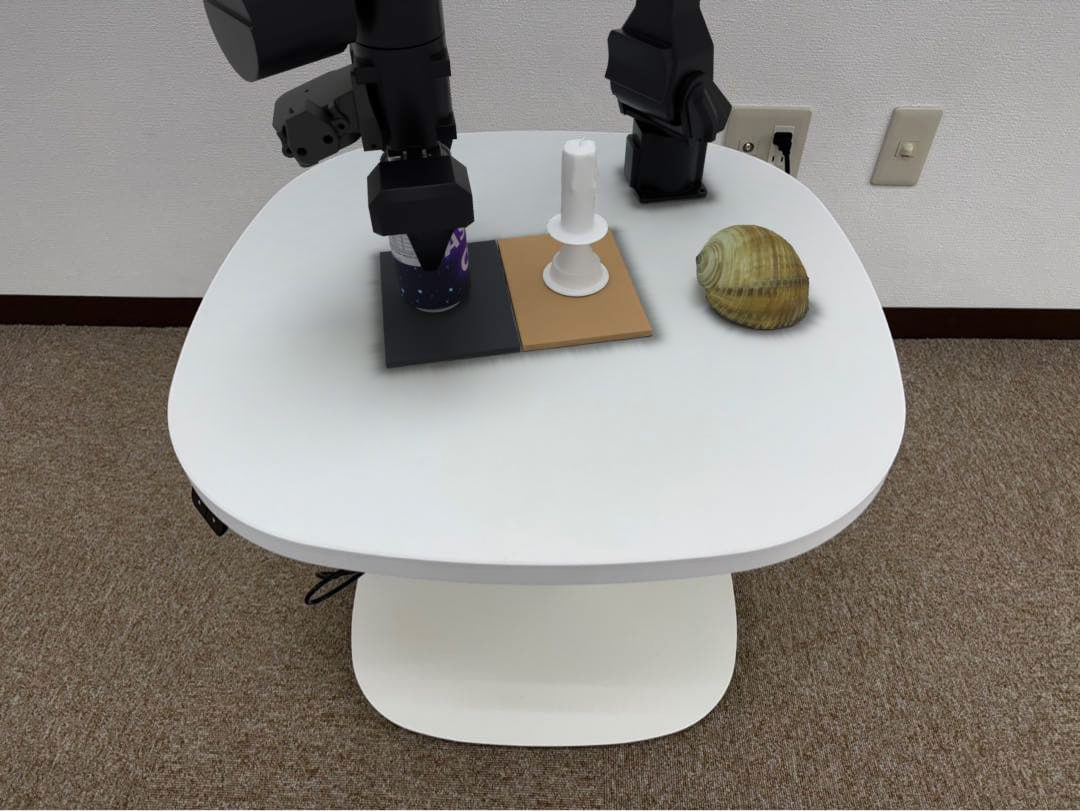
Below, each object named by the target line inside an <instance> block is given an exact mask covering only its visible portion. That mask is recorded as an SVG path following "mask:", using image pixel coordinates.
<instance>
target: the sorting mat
mask: <svg viewBox="0 0 1080 811" xmlns="http://www.w3.org/2000/svg"><path fill="white" fill-rule="evenodd" d="M563 245H564V243H562V242H559V241H557V240H555V239H554V238H552V237H551V236H550V234H549V233H546V234H537V235H527V236H518V237H517V236H516V237H508V238H507V237H506V238H500V239H499V238H498V239H497V242H496V239H490V240H489V239H488V240H482V241H481V240H480V241H471V242H467V248H468V257H469V266H470V275H471V289H470V291H469V293H468V294H467V296H466V297H465V298H464V299H462V300H461V301H460V302H459V303H458V304H457V305H456V306H454V307H453V308H451V309H448V310H445V311H441V312H425V311H422V310H419V309H417V308H416V307H414V306H411V305H409V304H408V303H406V302H405V301H404V300H403V299H402V298H401V296H400V294H399V289H398V284H397V279H396V273H395V268H394V263H393V258H392V253H391V250H387V251H380V252H379V269H380V271H379V272H380V286H381V288H380V289H381V301H382V302H381V305H382V323H383V342H384V358H385V360H384V362H385V367H386V368H387V369H390V368H391V369H392V368H396V367H397V368H398V367H406V366H415V365H423V364H430V363H439V362H447V361H454V360H456V361H457V360H462V359H472V358H478V357H479V358H480V357H488V356H497V355H505V354H512V353H520V352H521V348H522V351H523V352H529V351H537V350H538V351H539V350H546V349H554V348H561V347H569V346H577V345H583V344H584V345H586V344H587V345H588V344H594V343H603V342H611V341H618V340H626V339H635V338H643V337H650V336H652V334H653V329H652V326H651V324H650V321H649V319H648V316H647V313H646V311H645V309H644V306H643V304H642V302H641V299H640V297H639V295H638V292H637V290H636V287H635V284H634V282H633V280H632V278H631V276H630V273H629V271H628V269H627V265H626V264H625V261H624V258H623V256H622V253H621V252H620V248H619V246H618V244H617V242H616V239H615V237H614V235H613V233H612V230H611V227H608V231H607V233H606V235H605V236H604V237H603V238H602V239H600V240H598V241H596V242H594V243H591V244H590V247H591V249H592V251H593V252H594V253H596V254H597V255H598V257H599V259H600V263H602V264H603V265H604V266H605V267H606V269H607V271H608V273H609V279H608V282H607V284H606V285H605V286H604V287H603V288H602V289H601V290H600V291H598V292H596V293H594V294H591V295H587V296H577V297H575V296H566V295H562V294H559V293H557V292H555V291H553V290H551V289H550V288H549V287H548V286H547V285H546V284H545V282H544V280H543V271H544V269H545V268H546V266H547V265H548V264H549V263H551V262H552V261H553V258H554V256H555V255H556V254H557V253H558V252H559V251H561V249H562V247H563ZM511 305H512V306H511ZM519 340H520V341H519Z"/></svg>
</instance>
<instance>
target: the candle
mask: <svg viewBox="0 0 1080 811" xmlns="http://www.w3.org/2000/svg"><path fill="white" fill-rule="evenodd" d="M585 138H586V137H585V136H583V137H582V138H581V139H579V138H578V139H569V140H567V141H566V142H565V143H564V144H563V147H562V150H561V166H560V167H561V168H560V169H561V172H560V174H561V176H560V178H561V179H560V185H561V186H560V212H559V213H557V214H555V215H553V216H552V217H550V218H549V220H548V221H547V223H546V231H547V234H550V236H551V237H552V238H554V239H555V240H557V241H559V242H562V243H564V245H563V247H562V249H561V251H559V252H558V253H557V254H556V255H555V256H554V258H553V261H552V262H551V263H549V264H548V265H547V266H546V268H545V269H544V271H543V280H544V282H545V284H546V285H547V286H548V287H549V288H550V289H551V290H553V291H555V292H557V293H559V294H562V295H566V296H575V297H577V296H587V295H591V294H594V293H596V292H598V291H600V290H601V289H602V288H603V287H604V286H605V285H606V284H607V282H608V279H609V273H608V271H607V269H606V267H605V266H604V265H603V264H602V263H600V259H599V257H598V255H597V254H596V253H594V252H593V251H592V249H591V247H590V244H591V243H594V242H596V241H598V240H600V239H602V238H603V237H604V236H605V235H606V233H607V231H608V228H609V225H608V223H607V221H606V219H604V217H603V216H601V215H599V214H597V213H596V211H595V209H596V191H597V178H598V173H599V170H598V169H599V168H598V158H597V157H598V154H597V153H598V152H597V150H598V149H597V144H596V143H595V141H594V140H592V139H585Z"/></svg>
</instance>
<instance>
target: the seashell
mask: <svg viewBox="0 0 1080 811" xmlns="http://www.w3.org/2000/svg"><path fill="white" fill-rule="evenodd" d="M695 266H696V268H695V275H696V279H697V281H698V284H699V285H700V286H701V287H702V288H703V289H704V290H705V292H706V293H705V296H704V297H705V299H706V301H707V302H708V304H709V306H710V307H711V308H712V309H713V310H714V311H715V312H717V313H718V314H719V315H721V317H722V318H724V319H728V320H730V321H731V322H733V323H736V324H740V325H742V326H745V327H749V328H751V329H753V330H755V329H756V330H767V331H770V330H778V329H781V328H782V329H783V328H785V327H792V326H793V325H796V324H798V323H799V322H800V321H801V320H802V319H804V318H805V316H806V314H808V310H810V309H809V308H810V307H809V305H810V297H809V296H810V277H809V276H808V273H807V270H806V267H805V266H804V264H803V262H802V261H801V257H800V256H799V254H798V253H797V252H796V250H795V248H794V247H793V246H792V243H790V242H788V240H787V239H785V238H784V237H783V236H782V235H780V234H778V233H777V232H775V231H774V230H771V229H769V228H767V227H764V226H760V225H756V224H733V225H730V226H727V227H724V228H722V229H720V230H718V231H717V232H716V233H715V234H713V235H712V236H710V238H708V240H707V241H706V243H705V244H704V245H703V247H702V249H701V250H700V251H699V253H698V254H697V255H696V256H695Z"/></svg>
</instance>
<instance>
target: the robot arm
mask: <svg viewBox="0 0 1080 811" xmlns="http://www.w3.org/2000/svg"><path fill="white" fill-rule="evenodd" d="M202 4H203V8H204V11H205V14H206V17H207V20H208V23H209V25H210V28H211V30H212V33H213V36H214V38H215V40H216V42H217V44H218V46H219V48H220V50H221V52H222V53H223V55H224V57H225V58H226V60H227V62H228V63H229V65H230V66H231V67H232V69H233V70H234V71H235V73H236V74H237V75H238V76H239V77H240V78H241V79H242V80H244V81H245V82H247V83H251V84H252V83H255V82H258V81H260V80H265V79H267V78H270V77H273V76H276V75H279V74H282V73H285V72H288V71H291V70H294V69H298V68H300V67H304V66H308V65H309V64H313V63H316V62H319V61H322V60H325V59H328V58H331V57H335V56H337V55H340V54H343V53H345V51H346V49H347V48H348V45H349V55H350V61H351V63H350V64H347V65H345V66H343V67H340V68H338V69H334V70H333V69H332V70H329V71H327V72H325V73H322V74H321V75H319V76H316V77H315V78H313V79H310V80H308V81H306V82H304V83H302V84H300V85H298V86H295V87H293V88H291V89H290V90H287V91H286V92H284V93H283V94H281V95H280V96H278V98H277V99H276V100H275V102H274V106H273V107H274V108H273V114H272V122H271V126H272V127H273V129H274V130H275V133H276V136H277V137H278V139H279V141H280V143H281V153H282V155H283V156H284V157H286V158H287V159H294V160H295V161H296V162H297V163H298V165H299V167H300V168H303V169H307V168H311V167H313V166H316V165H318V164H319V162H321V161H324V160H325V159H328V158H329V157H331V156H333V155H336V154H338V153H339V152H340V151H341V150H343V149H345V148H347V147H349V146H351V145H353V144H356V142H358V141H359V140H360V139H361V144H362V149H363V152H375V151H382V153H384V151H385V150H387V156H388V161H385V162H380V161H379V162H378V163H377V164H376V165H375V167H374V168H373V169H372V170H371V171H370V172H369V174H368V175H367V176H366V189H367V190H366V191H367V192H366V193H367V207H368V214H369V219H370V223H371V228H372V233H374V234H376V235H378V236H381V237H388V236H392V235H401V234H406V235H407V237H408V239H409V241H410V243H411V246H412V248H413V250H414V252H415V254H416V256H417V259H418V261H419V263H420V265H421V267H422V269H423V271H434V270H437V269H438V268H439V266H440V263H441V261H442V259H443V256H444V254H445V251H446V249H447V246H448V244H449V242H450V239H451V237H452V235H453V232H454V230H455V229H456V228H465V229H466V228H468V227H469V226H470V225H473V224H474V223H475V222H476V221H475V210H474V198H473V197H474V196H473V192H472V187H471V182H470V178H469V173H468V169H467V166H465V165H464V164H463V163H462V162H461V161H459V160H458V159H456V158H455V157H454V156H453V155H452V154H451V155H452V156H451V155H446V156H442V151H441V145H440V143H442V144H444V145H445V146H446V147H448V148H449V150H450V151H451V150H452V145H453V142H454V140H458V134H457V133H458V132H457V131H458V130H457V123H456V118H455V113H454V110H453V98H452V89H451V78H450V77H452V69H451V68H452V67H451V59H450V54H449V50H448V45H447V38H446V25H445V17H444V16H445V15H444V6H443V0H202ZM606 40H607V41H606V42H607V52H608V53H607V54H608V59H607V65H606V70H605V73H604V78H605V79H606V80H608V81H609V84H610V85H609V87H610V91H611V94H612V95H613V96H615V98H616V100H617V104H618V109H619V112H620V114H622V115H623V116H628V117H630V118H632V131H631V133H628V134H627V135H626V138H625V151H624V163H623V164H624V165H623V176H624V177H625V180H626V181H627V185H628V187H630V189H631V190H633V192H634V194H635V197H636V199H637V201H638V202H639V203H640V204H654V203H655V204H656V203H664V202H673V201H683V200H693V199H703V198H707V196H708V193H709V192H708V188H707V187H706V186H705V184H704V182H703V178H704V171H705V165H706V164H705V163H706V158H707V150H708V144H709V143H710V144H711V143H713V142H715V141H716V139H717V135H718V134H719V133H721V132H723V131H724V130H725V129H726V125H727V124H728V120H729V118H730V115H731V112H732V109H733V105H732V104H731V102H730V101H729V100H728V98H727V97H726V96H725V95H724V93H723V92H722V90H721V89H720V88H719V86H717V84H716V83H715V81H714V75H715V74H714V73H715V71H714V70H715V68H714V67H715V66H714V65H715V64H714V63H715V44H714V42H713V38H712V36H711V33H710V30H709V28H708V26H707V22H706V20H705V18H704V15H703V12H702V10H701V0H635V3H634V7H633V8H632V10H631V12H630V13H629V15H628V16H627V18H626V19H625V21H624V23H623V24H622V25H621V27H620V28H615V29H611V30H610V31H609V33H608V36H607V39H606ZM424 149H426V155H427V157H426V158H423V153H422V150H424ZM403 151H406V154H407V159H405V160H404V158H403Z"/></svg>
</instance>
